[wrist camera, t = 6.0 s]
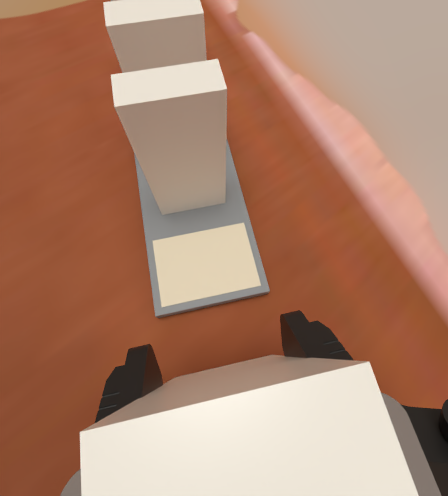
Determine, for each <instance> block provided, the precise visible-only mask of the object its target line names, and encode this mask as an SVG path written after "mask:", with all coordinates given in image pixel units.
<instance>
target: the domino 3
mask: <svg viewBox="0 0 448 496" xmlns="http://www.w3.org/2000/svg"><path fill="white" fill-rule="evenodd" d="M80 458H81V496H419V495H418V492H417V490H416V487H415V484H414V482H413V479H412V476H411V473H410V471H409V468H408V465H407V463H406V460H405V457H404V455H403V452H402V449H401V446H400V444H399V441H398V438H397V436H396V433H395V430H394V427H393V425H392V422H391V419H390V417H389V414H388V411H387V408H386V406H385V403H384V400H383V398H382V395H381V392H380V390H379V387H378V384H377V381H376V379H375V376H374V373H373V371H372V368H371V365H370V362H367V361H353V360H338V359H324V358H298V357H285V356H281V355H269V356H264V357H260V358H256V359H252V360H247V361H243V362H239V363H235V364H230V365H226V366H222V367H217V368H213V369H209V370H205V371H200V372H196V373H192V374H187V375H183V376H179V377H175V378H173V379H172V380H170V381H168V382H166V383H165V384H163V385H162V386H161V387H159V388H157V389H156V390H154V391H152V392H150V393H149V394H147V395H145V396H144V397H142V398H138V399H137V400H135V401H133V402H131V403H130V404H128V405H126V406H124V407H123V408H121V409H119V410H117V411H116V412H114V413H112V414H111V415H109V416H107V417H105V418H104V419H102V420H100V421H98V422H97V423H95V424H93V425H91V426H90V427H88V428H86V429H84V430H83V431H81V432H80Z"/></svg>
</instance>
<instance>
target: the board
mask: <svg viewBox="0 0 448 496" xmlns="http://www.w3.org/2000/svg"><path fill="white" fill-rule="evenodd" d="M134 154H135V152H134ZM135 162H136V169H137V177H138V185H139V193H140V200H141V208H142V216H143V224H144V231H145V239H146V247H147V254H148V262H149V270H150V278H151V285H152V293H153V301H154V309H155V316H156V317H158V318H161V317H166V316H170V315H175V314H179V313H184V312H188V311H193V310H197V309H202V308H206V307H211V306H215V305H220V304H224V303H229V302H233V301H238V300H242V299H247V298H251V297H256V296H260V295H265V294H268V293H269V292H270V290H269V286H268V283H267V279H266V276H265V272H264V268H263V265H262V261H261V258H260V254H259V251H258V247H257V244H256V240H255V237H254V233H253V230H252V226H251V223H250V219H249V215H248V212H247V208H246V205H245V201H244V198H243V194H242V191H241V187H240V184H239V180H238V177H237V173H236V169H235V166H234V162H233V159H232V155H231V152H230V148H229V145H228V141H227V138H226V195H225V203H223V204H217V205H212V206H207V207H202V208H196V209H191V210H186V211H181V212H176V213H170V214H165V215H162V213H161V211H160V209H159V207H158V204H157V202H156V200H155V198H154V195H153V193H152V191H151V189H150V186H149V184H148V182H147V180H146V177H145V175H144V173H143V171H142V168H141V166H140V164H139V162H138V159H137V157H136V155H135Z"/></svg>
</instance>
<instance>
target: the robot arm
mask: <svg viewBox="0 0 448 496" xmlns="http://www.w3.org/2000/svg"><path fill="white" fill-rule="evenodd" d="M280 322H281V335H282V346H283V351H284V355H285V357H298V358H324V359H338V360H353V359H352V357H351V356H350V355H349V353H348V352H347V351H345V348H344V347H343V346H342V344H341V343H340V342H339V341H338V339H337V338H336V336H335V335H334V334H333V332H332V331H331V330H330V329H329V328H328V327H326V326H325V325H323V324H322V323H320V322H319V321H314V322H310V323H309V322H308V320H307V319H306V317H305V316H304V314H303V313H302V312H301V311H300V310H299V311H294V312H290V313H285V314H281V316H280ZM353 361H354V360H353ZM162 385H163V381H162V375H161V372H160V369H159V366H158V363H157V360H156V357H155V354H154V351H153V348H152V346H151V345H150V344H147V345H143V346H139V347H134V348H130V349H129V350H128V353H127V358H126V362H125V365H123V366H118V367H115V369H114V370H113V372H112V373H111V375H110V376H109V378H108V379H107V381H106V384H105V387H104V391H103V395H102V396H103V398H102V399H101V402H100V406H99V411H98V413H97V417H96V421H95V423H97V422H98V421H100V420H102V419H104V418H105V417H107V416H109V415H111V414H112V413H114V412H116V411H117V410H119V409H121V408H123V407H124V406H126V405H128V404H130V403H131V402H133V401H135V400H137V399H138V398H142V397H144V396H145V395H147V394H149V393H150V392H152V391H154V390H156V389H157V388H159V387H161V386H162ZM381 395H382V398H383V400H384V403H385V406H386V408H387V411H388V414H389V417H390V419H391V422H392V425H393V427H394V430H395V433H396V436H397V438H398V441H399V444H400V446H401V449H402V452H403V455H404V457H405V460H406V463H407V465H408V468H409V471H410V473H411V476H412V479H413V482H414V484H415V487H416V490H417V492H418V495H419V496H448V399H447V400H446V401H445V402H444V404H443V407H442V409H431V408H418V407H408V406H404V405H401V404H399V403H398V402H397V401H396V400H394V399H393V398H392V397H390V396H388V395H386V394H384V393H381ZM61 496H81V469H80V470H79V471H77V472H76V473H75V474H74V475H73V476H72V478H71V479H70V480H69V481H68V483H67V484H66V486H65V487H64V489H63V491H62V493H61Z"/></svg>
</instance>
